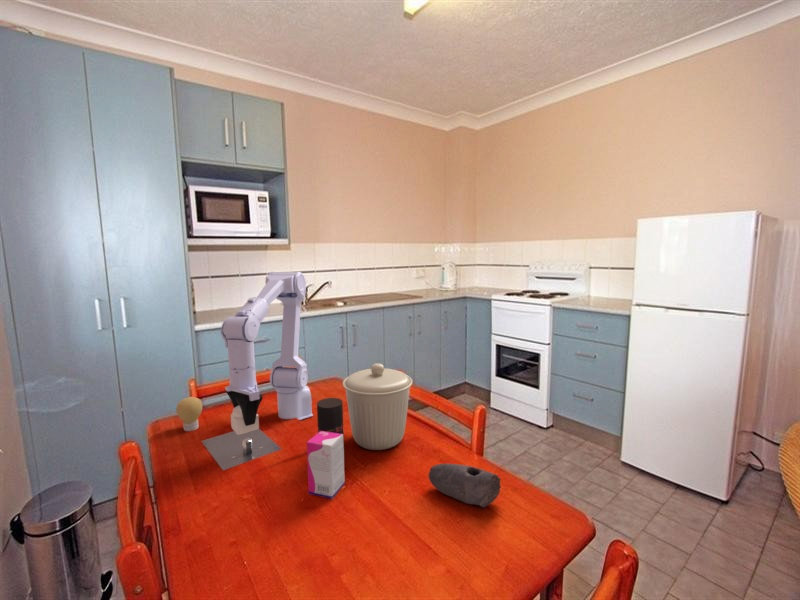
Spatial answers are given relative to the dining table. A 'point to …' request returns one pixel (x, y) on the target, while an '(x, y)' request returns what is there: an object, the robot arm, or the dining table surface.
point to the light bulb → (189, 412)
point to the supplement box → (325, 464)
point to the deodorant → (330, 415)
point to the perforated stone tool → (465, 483)
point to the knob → (242, 422)
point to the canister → (377, 406)
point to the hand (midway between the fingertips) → (245, 420)
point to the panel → (239, 447)
